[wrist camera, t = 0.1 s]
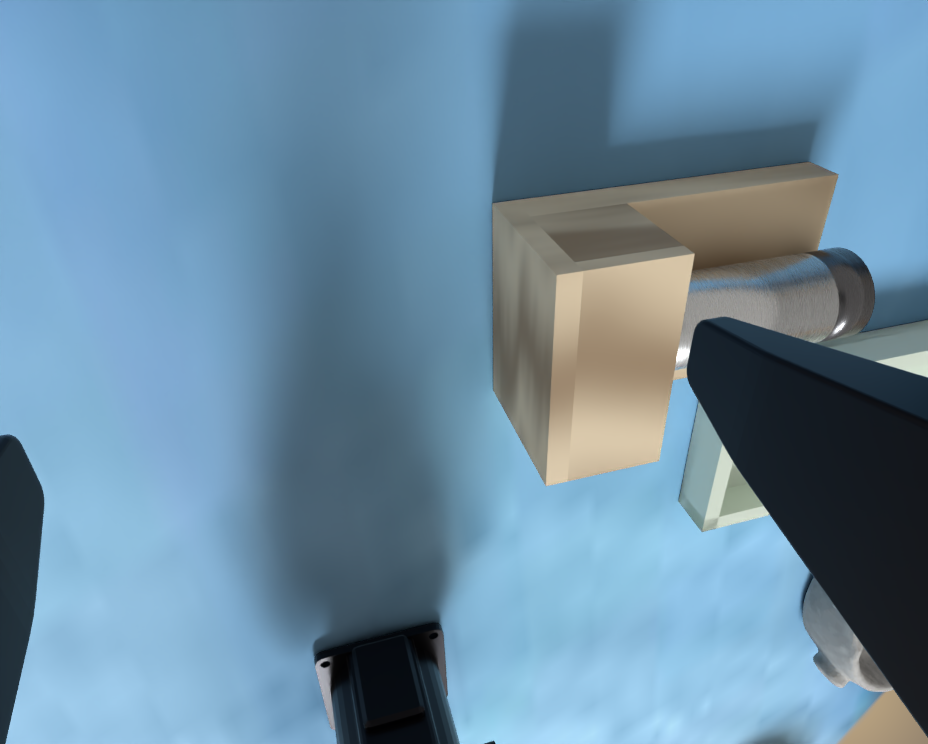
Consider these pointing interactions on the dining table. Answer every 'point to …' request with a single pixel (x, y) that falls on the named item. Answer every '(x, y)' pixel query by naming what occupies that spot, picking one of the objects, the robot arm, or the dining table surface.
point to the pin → (784, 296)
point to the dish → (838, 645)
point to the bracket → (623, 301)
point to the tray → (712, 470)
